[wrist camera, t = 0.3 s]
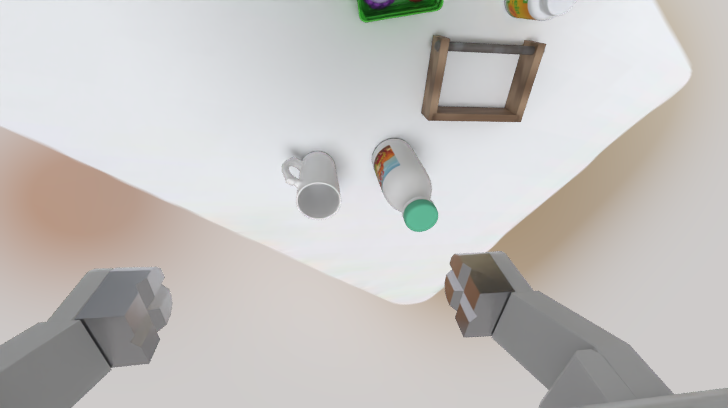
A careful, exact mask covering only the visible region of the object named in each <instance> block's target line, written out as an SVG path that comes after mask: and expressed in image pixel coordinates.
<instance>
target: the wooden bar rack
mask: <svg viewBox="0 0 728 408" xmlns="http://www.w3.org/2000/svg"><path fill="white" fill-rule="evenodd" d="M545 46H546V44H544V43H539V42H534V41H526V40H524V43H523V46H518V45H499V44H480V43H461V42H450V39H449V38H446V37H443V36H435V35H433V41H432V48H431V54H430V61H429V67H428V73H427V80H426V86H425V93H424V99H423V106H422V112H421V113H422V114H423V115H424V116H425V118H426V119H427V120H428V121H490V122H521V119H522V116H523V113H524V110H525V107H526V104H527V101H528V98H529V95H530V92H531V89H532V86H533V83H534V80H535V77H536V74H537V71H538V67H539V64H540V61H541V58H542V55H543V53H544V49H545ZM448 51H461V52H481V53H502V54H520V57H519V60H518V64H517V67H516V71H515V74H514V78H513V81H512V84H511V88H510V91H509V95H508V98H507V101H506V105H505V108H485V107H440V106H438V103H439V97H440V92H441V86H442V81H443V75H444V69H445V64H446V58H447V53H448Z"/></svg>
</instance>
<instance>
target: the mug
mask: <svg viewBox="0 0 728 408" xmlns="http://www.w3.org/2000/svg"><path fill="white" fill-rule="evenodd" d="M289 166H293V167H296V168H297V169H299V171H300V173H299V179H297V178H296V177H294V176H293V175H292V174H291V173H290V171H289ZM282 173H283V175H284V178H285V180H286V183H287V184H289V185H292V186H293V185H294V186H295V187H297V197H296V204H297V207H298V209H299V211H300V212H301V213H302V214H303V215H304V216H306V217H308V218H311V219H316V220H322V219H327V218H329V217H331V216H333V215H334V214H335V213H336V212H337V211H338V210H339V208H340V205H341V197H340V190H339V184H338V179H337V173H336V168H335V163H334V161H333V159H332V158H331V157H330V156H329V155H328V154H326V153H324V152H320V151H315V152H311V153H309V154H307V155H306V156H305V157H304V158H303V160H302V161H301V160H299V159H297V158H295V157H292V158H290V159H288V160H286V161H285V162H284V163H283V164H282Z"/></svg>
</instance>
